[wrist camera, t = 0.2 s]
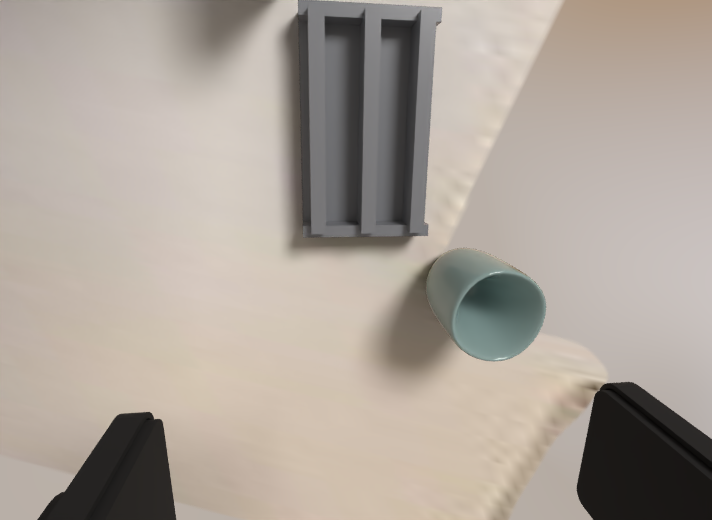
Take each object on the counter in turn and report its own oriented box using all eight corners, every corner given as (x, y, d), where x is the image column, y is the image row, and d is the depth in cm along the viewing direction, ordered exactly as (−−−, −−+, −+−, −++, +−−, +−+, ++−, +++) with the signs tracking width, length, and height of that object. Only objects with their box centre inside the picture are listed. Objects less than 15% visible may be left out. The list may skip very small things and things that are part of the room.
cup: (505, 256, 42) (564, 290, 32) (469, 323, 43) (516, 374, 34) (438, 227, 40) (480, 255, 30) (404, 298, 41) (434, 345, 32)
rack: (298, 11, 33) (297, -6, 30) (430, 18, 35) (446, 3, 31) (303, 230, 38) (303, 240, 34) (418, 228, 40) (431, 238, 36)
